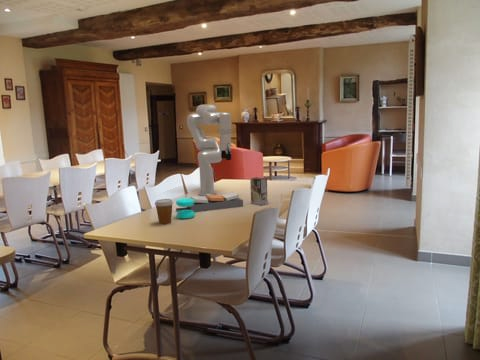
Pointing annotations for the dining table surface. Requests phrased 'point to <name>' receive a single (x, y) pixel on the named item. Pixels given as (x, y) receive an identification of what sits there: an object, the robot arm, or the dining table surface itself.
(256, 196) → the coffee box
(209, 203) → the long grey tray
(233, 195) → the rocker far grey
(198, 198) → the rocker near grey
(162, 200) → the disposable coffee cup
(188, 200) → the donuts
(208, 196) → the rocker middle orange
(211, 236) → the dining table surface
